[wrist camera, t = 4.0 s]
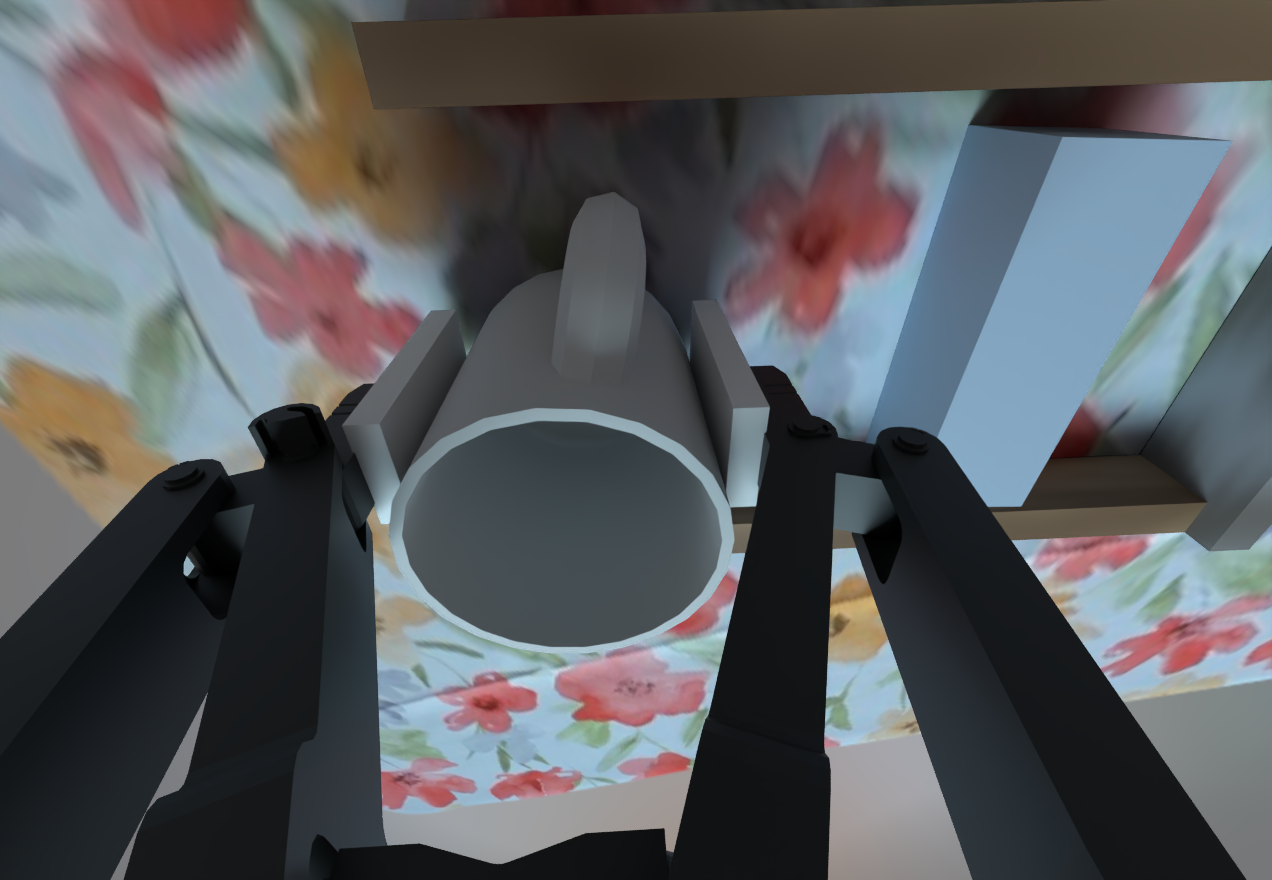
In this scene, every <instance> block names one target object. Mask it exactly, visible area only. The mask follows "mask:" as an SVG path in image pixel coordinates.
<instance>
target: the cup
mask: <svg viewBox="0 0 1272 880" xmlns="http://www.w3.org/2000/svg"><path fill="white" fill-rule="evenodd" d="M645 279H646V247H645V242H644V237H643V232H642V227H641V222H640V217H639V212H638V208H636V207H635V206H633V205H632V204H631V203H629V202H628V201H626V200H625V199H624V198H622V197H621V196H619V195H618V194H617V193H615V192H611V193H607V194H603V195H599V196H594V197H590V198H587V199H586V200H585V202H584V204H583V206H582V207H581V209H580V211H579V213H578V215H577V216H576V218H575V220H574V222H573V223H572V227H571V231H570V235H569V240H568V246H567V251H566V257H565V263H564V269H560V270H555V271H551V272H546V273H542V274H538V275H537V276H535V277H533V278H531V279H529V280H527V281H525V282H524V283H522V284H520V285H518V286H516V287H514V288H513V289H512V290H511V291H510V292H509V293H508V294H507V295H506V296H505V297H504V298H503V299H502V300H501V301H500V302H499V303H498V304H497V305H496V306H495V307H494V308H493V310H492V311H491V312H490V314H489V315H488V317H487V319H486V321H485V323H484V325H483V327H482V329H481V331H480V333H479V334H478V336H477V338H476V340H475V342H474V344H473V346H472V348H471V350H470V352H469V354H468V356H467V358H466V359H465V361H464V363H463V365H462V367H461V369H460V371H459V373H458V375H457V377H456V379H455V381H454V382H453V384H452V386H451V388H450V390H449V392H448V394H447V396H446V398H445V400H444V402H443V404H442V406H441V407H440V409H439V411H438V413H437V415H436V417H435V419H434V421H433V423H432V425H431V427H430V429H429V430H428V432H427V434H426V436H425V438H424V440H423V442H422V444H421V446H420V448H419V450H418V452H417V454H416V455H415V457H414V459H413V461H412V463H411V465H410V467H409V469H408V471H407V473H406V475H405V477H404V479H403V480H402V482H401V484H400V486H399V488H398V490H397V492H396V494H395V496H394V498H393V500H392V505H391V515H390V525H389V538H390V541H391V545H392V548H393V552H394V555H395V559H396V562H397V566H398V568H399V569H400V571H401V572H402V574H403V575H404V577H405V578H406V580H407V581H408V583H409V584H410V585H411V587H412V588H413V590H414V591H415V593H416V594H417V595H418V596H419V597H420V598H421V599H422V600H423V601H425V602H426V603H427V604H428V605H429V606H430V607H432V608H433V609H434V610H435V611H436V612H437V613H439V614H440V615H441V616H442V617H443V618H445V619H447V620H448V621H450V622H452V623H454V624H456V625H457V626H459V627H461V628H463V629H465V630H467V631H468V632H470V633H472V634H474V635H476V636H478V637H482V638H485V639H488V640H491V641H494V642H497V643H500V644H503V645H506V646H509V647H512V648H519V649H525V650H531V651H538V652H544V653H592V652H598V651H604V650H610V649H617V648H623V647H626V646H629V645H632V644H635V643H638V642H641V641H644V640H647V639H650V638H652V637H655V636H658V635H660V634H661V633H663V632H665V631H667V630H668V629H670V628H672V627H674V626H675V625H677V624H679V623H681V622H682V621H684V620H686V619H688V618H689V617H690V616H691V615H692V614H693V613H694V612H695V611H696V610H697V609H698V608H699V607H700V606H702V605H703V604H704V603H705V602H706V601H707V600H708V599H709V598H710V597H711V596H712V594H713V593H714V591H715V590H716V588H717V586H718V585H719V583H720V581H721V580H722V578H723V577H724V575H725V573H726V572H727V570H728V566H729V562H730V557H731V553H732V549H733V544H734V540H735V539H734V531H733V524H732V517H731V509H730V504H729V501H728V497H727V494H726V490H725V487H724V483H723V479H722V476H721V472H720V469H719V465H718V462H717V458H716V455H715V451H714V447H713V444H712V440H711V437H710V433H709V430H708V426H707V423H706V419H705V415H704V412H703V408H702V405H701V401H700V398H699V394H698V391H697V387H696V383H695V380H694V376H693V373H692V369H691V366H690V362H689V359H688V355H687V351H686V348H685V345H684V343H683V341H682V339H681V337H680V334H679V332H678V330H677V328H676V326H675V324H674V322H673V320H672V318H671V316H670V314H669V313H668V312H667V311H666V310H665V309H664V308H663V306H662V305H661V304H660V303H659V302H658V301H657V300H656V299H655V297H654V296H653V295H652V294H651V293H649V292H648V291H646V290H645Z"/></svg>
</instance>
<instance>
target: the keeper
mask: <svg viewBox="0 0 1272 880" xmlns="http://www.w3.org/2000/svg"><path fill="white" fill-rule="evenodd" d="M1231 143H1232V141H1229V140H1218V139H1208V138H1198V137H1188V136H1178V135H1167V134H1157V133H1147V132H1137V131H1127V130H1117V129H1106V128H1070V127H1028V126H985V125H968V128H967V131H966V134H965V137H964V140H963V143H962V146H961V150H960V153H959V156H958V159H957V162H956V165H955V168H954V171H953V174H952V177H951V180H950V183H949V186H948V190H947V193H946V196H945V199H944V202H943V205H942V208H941V211H940V214H939V217H938V220H937V223H936V226H935V230H934V233H933V236H932V239H931V242H930V245H929V248H928V251H927V254H926V257H925V260H924V263H923V266H922V270H921V273H920V276H919V279H918V282H917V285H916V288H915V291H914V294H913V297H912V300H911V303H910V306H909V309H908V313H907V316H906V319H905V322H904V325H903V328H902V331H901V334H900V337H899V340H898V343H897V346H896V349H895V353H894V356H893V359H892V362H891V365H890V368H889V371H888V374H887V377H886V380H885V383H884V386H883V389H882V393H881V396H880V399H879V402H878V405H877V408H876V411H875V414H874V417H873V420H872V423H871V426H870V429H869V433H868V436H867V439H866V442H865V443H871V444H875V442H876V438H877V436H878V434H879V433H880V432H881V431H882V430H884V429H887V428H889V427H900V426H901V427H913V428H917V429H921V430H923V431H926V432H928V433H929V434H931V435H933V436H935V437H937V438H938V439H939V440H940V441H941V442H942V443H943V444H945V446H946V447H947V449H948V450H949V452H950V453H951V454H952V456H953V457H954V459H955V460H956V462H957V463H958V465H959V466H960V467H961V469H962V470H963V472H964V473H965V475H966V476H967V477H968V479H969V480H970V482H971V483H972V485H973V486H974V488H975V489H976V490H977V492H978V493H979V495H980V496H981V498H982V499H983V501H984V502H985V503H986V505H987V506H988V507H1020V506H1022V504H1023V503H1024V501H1025V499H1026V497H1027V496H1028V494H1029V492H1030V491H1031V489H1032V487H1033V485H1034V484H1035V482H1036V480H1037V478H1038V477H1039V475H1040V473H1041V471H1042V470H1043V468H1044V466H1045V465H1046V463H1047V461H1048V459H1049V458H1050V456H1051V454H1052V452H1053V451H1054V449H1055V447H1056V446H1057V444H1058V442H1059V440H1060V439H1061V437H1062V435H1063V433H1064V432H1065V430H1066V428H1067V427H1068V425H1069V423H1070V421H1071V420H1072V418H1073V416H1074V414H1075V413H1076V411H1077V409H1078V408H1079V406H1080V404H1081V402H1082V401H1083V399H1084V397H1085V395H1086V394H1087V392H1088V390H1089V388H1090V387H1091V385H1092V383H1093V382H1094V380H1095V378H1096V376H1097V375H1098V373H1099V371H1100V369H1101V368H1102V366H1103V364H1104V363H1105V361H1106V359H1107V357H1108V356H1109V354H1110V352H1111V350H1112V349H1113V347H1114V345H1115V344H1116V342H1117V340H1118V338H1119V337H1120V335H1121V333H1122V331H1123V330H1124V328H1125V326H1126V324H1127V323H1128V321H1129V319H1130V318H1131V316H1132V314H1133V312H1134V311H1135V309H1136V307H1137V305H1138V304H1139V302H1140V300H1141V299H1142V297H1143V295H1144V293H1145V292H1146V290H1147V288H1148V286H1149V285H1150V283H1151V281H1152V280H1153V278H1154V276H1155V274H1156V273H1157V271H1158V269H1159V267H1160V266H1161V264H1162V262H1163V260H1164V259H1165V257H1166V255H1167V254H1168V252H1169V250H1170V248H1171V247H1172V245H1173V243H1174V241H1175V240H1176V238H1177V236H1178V235H1179V233H1180V231H1181V229H1182V228H1183V226H1184V224H1185V222H1186V221H1187V219H1188V217H1189V216H1190V214H1191V212H1192V210H1193V209H1194V207H1195V205H1196V203H1197V202H1198V200H1199V198H1200V196H1201V195H1202V193H1203V191H1204V190H1205V188H1206V186H1207V184H1208V183H1209V181H1210V179H1211V177H1212V176H1213V174H1214V172H1215V171H1216V169H1217V167H1218V165H1219V164H1220V162H1221V160H1222V158H1223V157H1224V155H1225V153H1226V152H1227V150H1228V148H1229V146H1230V145H1231Z"/></svg>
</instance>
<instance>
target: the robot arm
mask: <svg viewBox="0 0 1272 880" xmlns="http://www.w3.org/2000/svg"><path fill="white" fill-rule="evenodd" d="M466 358H467V357H466V352H465V348H464V343H463V339H462V334H461V330H460V325H459V321H458V316H457V312H456V310H435V311H431V312H430V313H429V314H428V315H427V317H426V318H425V319H424V321H423V322H422V323H421V324H420V326H419V327H418V328H417V330H416V331H415V332H414V333H413V335H412V336H411V337H410V339H409V340H408V341H407V342H406V344H405V345H404V346H403V348H402V349H401V350H400V351H399V353H398V354H397V355H396V357H395V358H394V359H393V360H392V362H391V363H390V364H389V366H388V367H387V368H386V369H385V371H384V372H383V373H382V375H381V376H380V377H379V378H378V380H377V381H376V382H375V383H374V384H363V385H361V386H360V387H358V388H356V389H355V390H353V391H352V392H350V393H348V394H347V396H346V397H345V398H344V399H343V400H342V402H341V403H340V404H339V407H336V409H335V410H334V411H333V412H332V415H330V416H329V417H328V418H327V419H326V421H325V420H324V418H323V415H322V413H321V410H320V408H319V407H318V406H316V405H313V404H305V403H299V404H291V405H286V406H282V407H278V408H275V409H272V410H270V411H268V412H266V413H263V414H261V415H260V416H259V417H257V418H256V419H254V420H253V421H252V422H251V424H250V425H249V426H248V429H249V431H250V433H251V434H252V436H253V438H254V440H255V442H256V444H257V446H258V448H259V450H260V452H261V454H262V455H263V457H264V459H265V463H264V467H263V468H262V469H258V470H254V471H249V472H245V473H240V474H236V475H231V476H228V474H227V473H226V471H225V469H224V467H223V466H222V464H221V462H219V461H216V460H213V459H200V460H195V461H186V462H183V463H180V465H178V464H177V465H174V466H172V467H170V468H168V469H167V470H166V471H164V472H162V473H160V474H158V475H157V476H155V477H154V478H153V479H152V480H150V481H149V482H148V483H147V484H146V485H145V486H144V487H143V488H142V489H141V490H140V491H139V492H138V493H137V494H136V495H135V496H134V498H133V499H132V500H131V501H130V502H129V503H128V504H127V505H126V506H125V507H124V508H123V509H122V510H121V511H120V512H119V513H118V514H117V516H116V517H115V518H114V519H113V520H112V521H111V522H110V523H109V524H108V525H107V526H106V527H105V528H104V529H103V530H102V531H101V532H100V534H99V535H98V536H97V537H96V538H95V539H94V540H93V541H92V542H91V543H90V544H89V545H88V546H87V547H86V548H85V549H84V551H83V552H82V553H81V554H80V555H79V556H78V557H77V558H76V559H75V560H74V561H73V562H72V563H71V564H70V565H69V566H68V567H67V569H65V571H64V572H63V573H62V574H61V575H60V576H59V577H58V578H57V579H56V580H55V581H54V582H53V583H52V584H51V586H49V587H48V589H47V590H46V591H45V592H44V593H43V594H42V595H41V596H40V597H39V598H38V599H37V600H36V601H35V602H34V603H33V604H32V605H31V607H30V608H29V609H28V610H27V611H26V612H25V613H24V614H23V615H22V616H21V617H20V618H19V619H18V620H17V621H16V622H15V624H14V625H13V626H12V627H11V628H10V629H9V630H8V631H7V632H6V633H5V634H4V635H3V636H2V637H1V639H0V880H110V879H111V877H112V875H113V873H114V871H115V870H116V868H117V866H118V864H119V862H120V860H121V858H122V856H123V854H124V852H125V850H126V848H127V846H128V845H129V843H130V841H131V839H132V837H133V835H134V833H135V831H136V829H137V827H138V825H139V823H140V821H141V820H142V818H143V816H144V814H145V812H146V810H147V808H148V806H149V804H150V802H151V800H152V798H153V796H154V794H155V793H156V791H157V789H158V787H159V785H160V783H161V781H162V779H163V777H164V775H165V773H166V771H167V769H168V767H169V766H170V764H171V762H172V760H173V758H174V756H175V754H176V752H177V750H178V748H179V746H180V744H181V743H182V741H183V738H184V737H185V735H186V733H187V731H188V729H189V727H190V725H191V723H192V721H193V719H194V717H195V715H196V714H197V712H198V710H199V708H200V706H201V704H202V702H203V700H204V698H205V696H206V694H207V692H208V695H207V699H206V703H205V707H204V711H203V715H202V719H201V723H200V727H199V731H198V735H197V739H196V743H195V747H194V752H193V755H192V759H191V764H190V767H189V772H188V775H187V777H186V780H185V783H184V785H183V786H182V787H181V788H180V789H179V791H176V792H174V793H171V794H169V795H166V796H163V797H161V798H158V799H157V800H156V801H155V803H154V804H153V805H152V806H151V807H150V808H149V809H148V811H147V812H146V814H145V816H144V819H143V821H142V823H141V826H140V828H139V831H138V833H137V836H136V839H135V843H134V846H133V850H132V853H131V856H130V860H129V863H128V867H127V870H126V873H125V877H124V880H828V856H829V825H830V795H831V793H830V792H831V769H830V761H829V757H828V756H827V755H826V754H825V749H824V731H825V708H826V686H827V663H828V641H829V618H830V595H831V573H832V550H833V529H838V530H844V531H849V532H852V537H853V540H854V543H855V546H856V549H857V551H858V554H859V557H860V560H861V563H862V566H863V569H864V571H865V574H866V577H867V580H868V583H869V586H870V588H871V591H872V594H873V597H874V600H875V603H876V606H877V608H878V611H879V614H880V617H881V620H882V623H883V626H884V628H885V631H886V634H887V637H888V640H889V643H890V645H891V648H892V651H893V654H894V657H895V660H896V663H897V665H898V668H899V671H900V674H901V677H902V680H903V683H904V685H905V688H906V691H907V694H908V697H909V700H910V702H911V705H912V708H913V711H914V714H915V717H916V720H917V722H918V725H919V728H920V731H921V734H922V737H923V739H924V742H925V745H926V748H927V751H928V754H929V757H930V759H931V762H932V765H933V768H934V771H935V774H936V777H937V779H938V782H939V785H940V788H941V791H942V794H943V797H944V799H945V802H946V805H947V808H948V811H949V814H950V816H951V819H952V822H953V825H954V828H955V831H956V833H957V836H958V839H959V842H960V845H961V848H962V851H963V854H964V856H965V859H966V862H967V865H968V868H969V871H970V873H971V876H972V879H973V880H1246V878H1245V877H1244V875H1243V874H1242V872H1241V871H1240V870H1239V868H1238V867H1237V865H1236V864H1235V862H1234V861H1233V860H1232V858H1231V857H1230V855H1229V854H1228V852H1227V851H1226V850H1225V848H1224V847H1223V845H1222V844H1221V842H1220V841H1219V839H1218V838H1217V836H1216V835H1215V834H1214V832H1213V831H1212V829H1211V828H1210V826H1209V825H1208V823H1207V822H1206V821H1205V819H1204V818H1203V816H1202V815H1201V813H1200V812H1199V810H1198V809H1197V808H1196V806H1195V805H1194V803H1193V802H1192V800H1191V799H1190V798H1189V796H1188V795H1187V793H1186V792H1185V790H1184V789H1183V787H1182V786H1181V785H1180V783H1179V782H1178V780H1177V779H1176V777H1175V776H1174V775H1173V773H1172V772H1171V770H1170V769H1169V767H1168V766H1167V764H1166V763H1165V762H1164V760H1163V759H1162V757H1161V756H1160V754H1159V753H1158V751H1157V750H1156V749H1155V747H1154V746H1153V744H1152V743H1151V741H1150V740H1149V738H1148V737H1147V736H1146V734H1145V733H1144V731H1143V730H1142V728H1141V727H1140V725H1139V724H1138V723H1137V721H1136V720H1135V718H1134V717H1133V716H1132V714H1131V712H1130V711H1129V710H1128V708H1127V707H1126V705H1125V704H1124V702H1123V701H1122V699H1121V698H1120V697H1119V695H1118V694H1117V692H1116V691H1115V689H1114V688H1113V687H1112V685H1111V684H1110V682H1109V681H1108V679H1107V678H1106V676H1105V675H1104V674H1103V672H1102V671H1101V669H1100V668H1099V666H1098V665H1097V663H1096V662H1095V661H1094V659H1093V658H1092V656H1091V655H1090V653H1089V652H1088V650H1087V649H1086V648H1085V646H1084V645H1083V643H1082V642H1081V640H1080V639H1079V637H1078V636H1077V635H1076V633H1075V632H1074V630H1073V629H1072V627H1071V626H1070V625H1069V623H1068V622H1067V620H1066V619H1065V617H1064V616H1063V614H1062V613H1061V612H1060V610H1059V609H1058V607H1057V606H1056V604H1055V603H1054V601H1053V600H1052V599H1051V597H1050V596H1049V594H1048V593H1047V591H1046V590H1045V588H1044V587H1043V586H1042V584H1041V583H1040V581H1039V580H1038V578H1037V577H1036V576H1035V574H1034V573H1033V571H1032V570H1031V568H1030V567H1029V565H1028V564H1027V563H1026V561H1025V560H1024V558H1023V557H1022V555H1021V554H1020V552H1019V551H1018V550H1017V548H1016V547H1015V545H1014V544H1013V542H1012V541H1011V539H1010V538H1009V537H1008V535H1007V534H1006V532H1005V531H1004V529H1003V528H1002V526H1001V525H1000V524H999V522H998V521H997V519H996V518H995V516H994V515H993V514H992V512H991V511H990V509H989V508H988V506H987V505H986V503H985V502H984V501H983V499H982V498H981V496H980V495H979V493H978V492H977V490H976V489H975V488H974V486H973V485H972V483H971V482H970V480H969V479H968V477H967V476H966V475H965V473H964V472H963V470H962V469H961V467H960V466H959V465H958V463H957V462H956V460H955V459H954V457H953V456H952V454H951V453H950V452H949V450H948V449H947V447H946V446H945V444H943V443H942V442H941V441H940V440H939V439H938V438H937V437H935V436H933V435H931V434H929V433H928V432H926V431H923V430H921V429H917V428H913V427H901V426H900V427H889V428H887V429H884V430H882V431H881V432H880V433H879V434H878V436H877V438H876V442H875V444H871V443H864V442H857V441H851V440H846V439H842V438H839V437H838V434H837V431H836V428H835V427H834V426H833V425H832V424H831V423H829V422H828V421H826V420H824V419H822V418H820V417H816V416H812V415H811V414H810V413H809V411H808V409H807V408H806V406H805V405H804V403H803V401H802V400H801V398H800V396H799V395H798V394H797V391H796V390H795V388H794V387H793V386H792V383H791V382H790V380H789V378H788V377H787V375H786V374H785V373H784V372H782V371H780V370H779V369H777V368H776V367H774V366H749V364H748V362H747V360H746V358H745V356H744V354H743V352H742V350H741V348H740V346H739V344H738V342H737V340H736V338H735V336H734V334H733V332H732V330H731V328H730V326H729V324H728V322H727V320H726V318H725V316H724V314H723V312H722V310H721V308H720V306H719V304H718V302H717V300H695V301H692V312H691V339H690V366H691V369H692V373H693V376H694V380H695V383H696V387H697V391H698V394H699V398H700V401H701V405H702V408H703V412H704V415H705V419H706V423H707V426H708V430H709V433H710V437H711V440H712V444H713V447H714V451H715V455H716V458H717V462H718V465H719V469H720V472H721V476H722V479H723V483H724V487H725V490H726V494H727V497H728V501H729V504H730V507H750V506H756V509H755V513H754V518H753V522H752V526H751V531H750V535H749V540H748V544H747V549H746V553H745V557H744V562H743V566H742V571H741V575H740V579H739V584H738V588H737V593H736V597H735V602H734V606H733V610H732V615H731V619H730V624H729V628H728V633H727V637H726V641H725V646H724V650H723V655H722V659H721V663H720V668H719V672H718V677H717V681H716V686H715V690H714V694H713V699H712V703H711V707H710V711H709V714H708V717H707V718H706V719H705V723H704V726H703V729H702V733H701V737H700V741H699V745H698V750H697V754H696V758H695V763H694V767H693V771H692V776H691V780H690V784H689V788H688V793H687V797H686V802H685V806H684V810H683V814H682V819H681V823H680V827H679V832H678V837H677V840H676V845H675V849H674V853H673V852H670V851H666V843H665V830H664V828H663V829H648V830H632V831H631V830H630V831H614V832H599V833H585V834H582V835H580V836H577V837H574V838H572V839H569V840H566V841H564V842H561V843H558V844H556V845H553V846H551V847H548V848H545V849H542V850H540V851H537V852H534V853H532V854H529V855H526V856H524V857H521V858H518V859H516V860H513V861H510V862H507V863H504V864H492V863H488V862H484V861H481V860H477V859H474V858H470V857H466V856H462V855H459V854H456V853H452V852H448V851H445V850H441V849H437V848H433V847H430V846H427V845H423V844H405V845H391V846H387V843H386V839H385V835H384V829H383V818H382V793H381V765H380V737H379V708H378V680H377V652H376V624H375V596H374V568H373V540H372V532H371V529H370V527H369V524H368V522H367V520H366V519H367V517H368V515H369V513H370V512H371V510H372V508H373V506H374V507H375V509H376V512H377V514H378V517H379V519H380V522H381V524H390V515H391V505H392V500H393V498H394V496H395V494H396V492H397V490H398V488H399V486H400V484H401V482H402V480H403V479H404V477H405V475H406V473H407V471H408V469H409V467H410V465H411V463H412V461H413V459H414V457H415V455H416V454H417V452H418V450H419V448H420V446H421V444H422V442H423V440H424V438H425V436H426V434H427V432H428V430H429V429H430V427H431V425H432V423H433V421H434V419H435V417H436V415H437V413H438V411H439V409H440V407H441V406H442V404H443V402H444V400H445V398H446V396H447V394H448V392H449V390H450V388H451V386H452V384H453V382H454V381H455V379H456V377H457V375H458V373H459V371H460V369H461V367H462V365H463V363H464V361H465V359H466ZM758 489H759V490H760V491H759V496H758ZM757 496H758V500H757ZM756 503H757V504H756ZM186 556H188V558H189V559H190V561H191V562H192V563H193V565H194V566H195V567H194V569H193V570H192V571H191V573H190V574H189V575H188V576H185V575H184V574H183V572H184V561H185V559H186Z"/></svg>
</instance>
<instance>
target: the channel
mask: <svg viewBox="0 0 1272 880" xmlns="http://www.w3.org/2000/svg"><path fill="white" fill-rule="evenodd" d="M351 23H352V27H353V30H354V34H355V38H356V42H357V46H358V50H359V53H360V57H361V61H362V65H363V69H364V73H365V76H366V80H367V84H368V88H369V92H370V96H371V99H372V103H373V107H374V109H400V108H431V107H462V106H493V105H524V104H555V103H585V102H616V101H647V100H678V99H709V98H740V97H771V96H802V95H832V94H863V93H894V92H925V91H956V90H987V89H1018V88H1048V87H1079V86H1110V85H1141V84H1172V83H1203V82H1234V81H1265V80H1272V0H1095V1H1061V2H1027V3H993V4H960V5H926V6H892V7H858V8H824V9H791V10H757V11H723V12H689V13H656V14H622V15H588V16H554V17H520V18H487V19H453V20H419V21H385V22H351ZM759 491H760V490H759V489H758V496H759ZM758 496H757V500H758ZM756 504H757V503H756ZM988 508H989V509H990V511H991V512H992V514H993V515H994V516H995V518H996V519H997V521H998V522H999V524H1000V525H1001V526H1002V528H1003V529H1004V531H1005V532H1006V534H1007V535H1008V537H1009V538H1010V539H1011V540H1028V539H1049V538H1070V537H1091V536H1113V535H1134V534H1155V533H1176V532H1185V533H1186V534H1188V535H1189V536H1190V537H1192V538H1193V539H1194V540H1195V541H1197V542H1198V543H1199V544H1200V545H1202V546H1203V547H1204V548H1206V549H1207V550H1208V551H1226V550H1247V549H1250V548H1251V547H1252V545H1253V544H1254V543H1255V542H1256V541H1257V540H1258V539H1259V538H1260V536H1261V535H1262V534H1263V533H1264V532H1265V531H1266V530H1267V529H1268V528H1269V526H1270V525H1271V524H1272V248H1271V250H1270V252H1269V253H1268V255H1267V256H1266V258H1265V259H1264V261H1263V263H1262V264H1261V266H1260V267H1259V269H1258V270H1257V272H1256V274H1255V275H1254V277H1253V278H1252V280H1251V281H1250V283H1249V285H1248V286H1247V288H1246V289H1245V291H1244V292H1243V294H1242V296H1241V297H1240V299H1239V300H1238V302H1237V303H1236V305H1235V306H1234V308H1233V310H1232V311H1231V313H1230V314H1229V316H1228V317H1227V319H1226V321H1225V322H1224V324H1223V325H1222V327H1221V328H1220V330H1219V332H1218V333H1217V335H1216V336H1215V338H1214V339H1213V341H1212V343H1211V344H1210V346H1209V347H1208V349H1207V350H1206V352H1205V354H1204V355H1203V357H1202V358H1201V360H1200V361H1199V363H1198V365H1197V366H1196V368H1195V369H1194V371H1193V372H1192V374H1191V376H1190V377H1189V379H1188V380H1187V382H1186V383H1185V385H1184V387H1183V388H1182V390H1181V391H1180V393H1179V394H1178V396H1177V398H1176V399H1175V401H1174V402H1173V404H1172V405H1171V407H1170V408H1169V410H1168V412H1167V413H1166V415H1165V416H1164V418H1163V419H1162V421H1161V423H1160V424H1159V426H1158V427H1157V429H1156V430H1155V432H1154V434H1153V435H1152V437H1151V438H1150V440H1149V441H1148V443H1147V445H1146V446H1145V448H1144V449H1143V451H1142V452H1141V454H1140V455H1123V456H1100V457H1078V458H1055V459H1048V461H1047V463H1046V465H1045V466H1044V468H1043V470H1042V471H1041V473H1040V475H1039V477H1038V478H1037V480H1036V482H1035V484H1034V485H1033V487H1032V489H1031V491H1030V492H1029V494H1028V496H1027V497H1026V499H1025V501H1024V503H1023V504H1022V506H1020V507H988ZM730 509H731V517H732V524H733V531H734V539H735V540H734V544H733V549H732V553H746V549H747V544H748V540H749V535H750V531H751V526H752V522H753V518H754V513H755V509H756V506H750V507H730ZM837 548H856V546H855V543H854V540H853V537H852V532H849V531H844V530H838V529H833V549H837Z"/></svg>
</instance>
